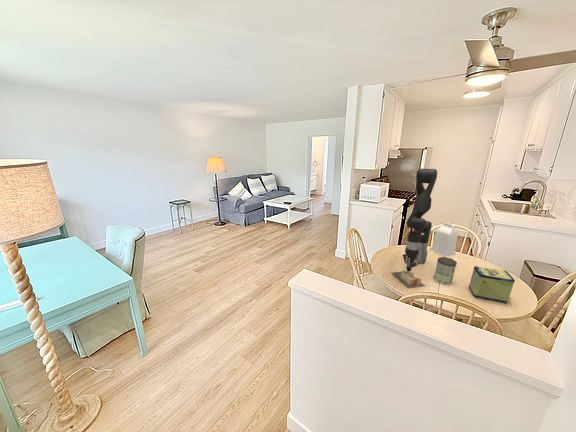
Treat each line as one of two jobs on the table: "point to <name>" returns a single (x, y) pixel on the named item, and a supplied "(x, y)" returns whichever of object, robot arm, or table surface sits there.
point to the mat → (398, 275)
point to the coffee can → (445, 270)
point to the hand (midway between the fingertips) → (408, 270)
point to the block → (410, 278)
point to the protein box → (491, 284)
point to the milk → (445, 240)
